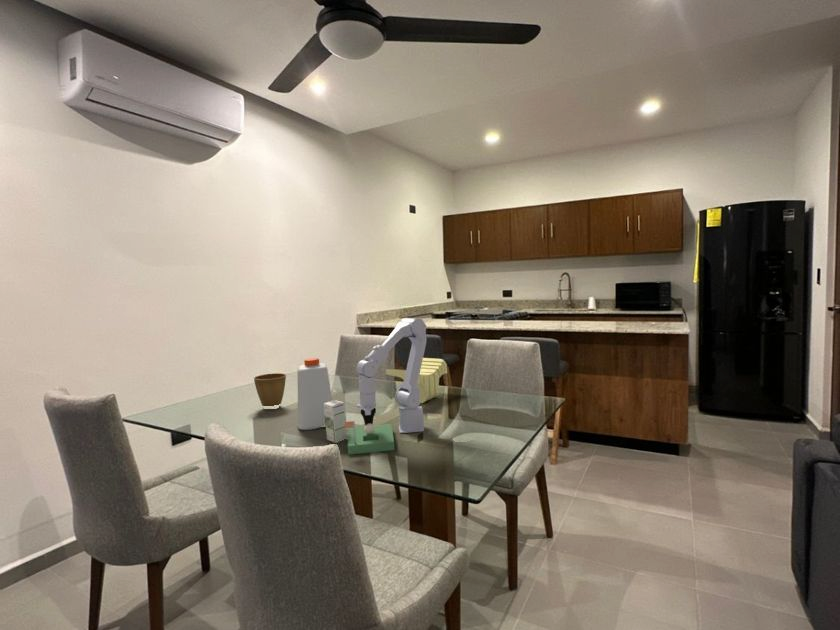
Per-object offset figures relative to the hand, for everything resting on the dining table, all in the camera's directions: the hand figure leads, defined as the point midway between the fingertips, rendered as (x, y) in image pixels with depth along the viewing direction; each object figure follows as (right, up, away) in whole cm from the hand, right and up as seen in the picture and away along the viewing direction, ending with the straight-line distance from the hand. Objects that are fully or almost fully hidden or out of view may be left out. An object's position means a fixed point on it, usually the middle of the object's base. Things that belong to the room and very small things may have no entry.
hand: (369, 428), depth 165 cm
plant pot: (-54, -4, +54) cm, 76 cm away
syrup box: (-13, -5, +3) cm, 14 cm away
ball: (0, 0, -2) cm, 2 cm away
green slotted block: (+1, -5, -1) cm, 5 cm away
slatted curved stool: (+19, 0, +55) cm, 58 cm away
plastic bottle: (-25, -4, +24) cm, 35 cm away
